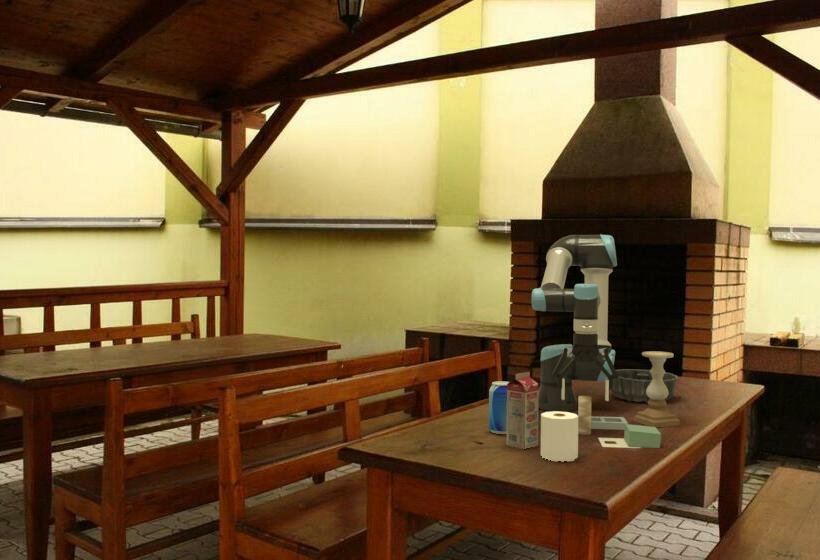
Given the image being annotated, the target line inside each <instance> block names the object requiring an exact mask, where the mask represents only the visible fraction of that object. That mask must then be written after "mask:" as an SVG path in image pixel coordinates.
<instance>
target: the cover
mask: <svg viewBox="0 0 820 560" xmlns="http://www.w3.org/2000/svg"><path fill="white" fill-rule="evenodd" d="M623 433H624V434H623V439H624V440H625V441H626V443H627V444H628V446H634V447H641V448H647V449H649V448H650V449H651V448H652V449H653V448H654V449H660V448H661V441H662V433H661V432H660V431H659V429H658V428H656V427H650V426H646V425H637V424H630V423H628V424H625V430H624V432H623Z"/></svg>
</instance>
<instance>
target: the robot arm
mask: <svg viewBox="0 0 820 560" xmlns="http://www.w3.org/2000/svg"><path fill="white" fill-rule="evenodd" d="M545 261H546V267H545V271H544V275H543V278H542V282H541V286H540V287H538V288H537V287H536V288H534V289H532V291H531V306H532V307H531V308H532V309H533V310H534V311H539V312H571V313H572V312H573V332H574V333H573V334H572V335H573V340H572V341H573V342H572V343H573V344H571V343H567V344H565V343H562V344H553V345H547V346H544V347H543V348H542V349H541V351H540V360H539V361H540V384H539V385H540V386H539V398H538V409H539V408H540V410H543V411H548V412H553V411H559V412H570V411H575V410H578V401H577V399H576V395H575V391H574V389H573V381H580V382H581V381H582V382H597V383H600V382H603V383H604V400H605V401H606V402H609V400H610V399H609V397H610V396H609V393H610V391H612V380H613V379H615V378H618V374H617V372H616V370H617V369H616V368H615V366H614V365H615V358H616V357H615V356H616V351H615V349H612V344H611V343H610V342H609V341H608V325H609V324H608V323H609V322H608V320H609V318H608V317H609V315H608V314H609V310H608V309H609V307H608V306H609V275H610V274H611V273H612V272H614V271H613V270H614V268H615V267H617V266H618V262H617V261H618V260H617V251H616V245H615V239H614V237H613V235H610V234H602V233H600V234H571V235H567V236H563V237H561V238H560V239H558V240H557V241H555V242H554V243H553V244H552V245H551V246H550V248H549V249H548V250H547V252H546V256H545ZM572 266H573V267H580V272H582V274H583V275H584V283H576V284H575V285H574V288H565V283H566V280H567V279H566V278H567V274H568V270H569V268H570V267H572Z"/></svg>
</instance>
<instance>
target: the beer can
mask: <svg viewBox="0 0 820 560" xmlns="http://www.w3.org/2000/svg"><path fill="white" fill-rule="evenodd" d="M509 382H510V381H505V380H504V381H501V380H498V381H497V380H496V381H492V383H491V386H490V387H489V389H488V429H489V431H490V433H491V432H493V433H496V434H507V384H508V383H509ZM493 433H492V434H493ZM496 434H495V435H496Z"/></svg>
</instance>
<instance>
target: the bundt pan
mask: <svg viewBox="0 0 820 560" xmlns="http://www.w3.org/2000/svg"><path fill="white" fill-rule="evenodd" d="M615 370H616V372H617V374H618V378H615V379H613V380H612V390H611V393H612V394H613V396H615V397H617V398H619V399H621V400H624V401H625V400H626V401H628V402H636V403H642V402H644V403H646V404H648V401H649V400H650V398H649V397H648V396H647V394H646V389H647V387H648V386H649V384H650V383H651V381H652V375H651V373H650V370H651V369H627V368H626V369H624V368H623V369H615ZM677 380H679V377H678V375H676V374H674V373H670V372H666V373H665V374H664V376H663V382H664V384H665V386H666V387H667V389H668V392H669V394H668V396H667V397H666V398H665V399H664V400H665V401H666V402H667V401H668V400H670V399H672V397H673V395H674V394H675V389H676V384H677Z"/></svg>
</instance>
